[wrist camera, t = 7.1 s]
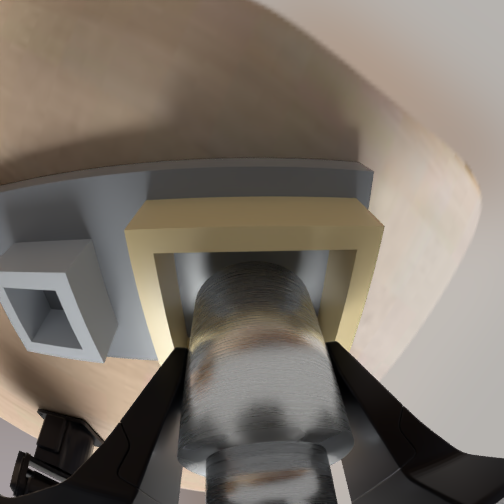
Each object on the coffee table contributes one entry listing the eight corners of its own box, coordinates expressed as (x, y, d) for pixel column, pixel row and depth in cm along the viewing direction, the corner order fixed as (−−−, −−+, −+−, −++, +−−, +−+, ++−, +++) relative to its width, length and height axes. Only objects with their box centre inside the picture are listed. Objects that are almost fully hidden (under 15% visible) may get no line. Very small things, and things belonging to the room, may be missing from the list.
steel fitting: (303, 345, 12) (341, 524, 5) (201, 349, 12) (191, 535, 5) (317, 259, 10) (406, 494, 3) (188, 262, 10) (146, 518, 3)
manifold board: (327, 336, 16) (344, 391, 13) (47, 331, 15) (24, 375, 12) (358, 162, 11) (407, 193, 8) (-6, 187, 10) (-55, 219, 7)
